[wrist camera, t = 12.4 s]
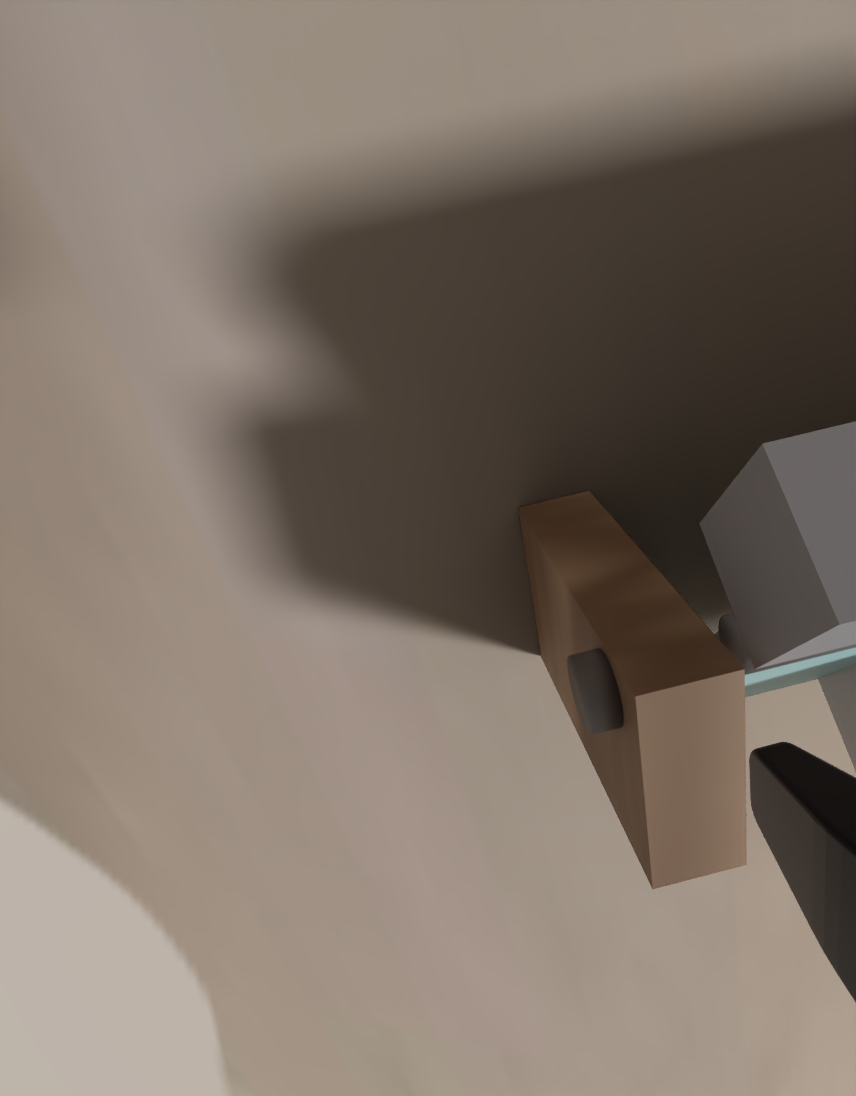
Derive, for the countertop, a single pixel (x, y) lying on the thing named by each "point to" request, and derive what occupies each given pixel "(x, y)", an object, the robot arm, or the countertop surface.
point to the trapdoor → (789, 559)
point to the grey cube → (843, 704)
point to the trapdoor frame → (641, 689)
